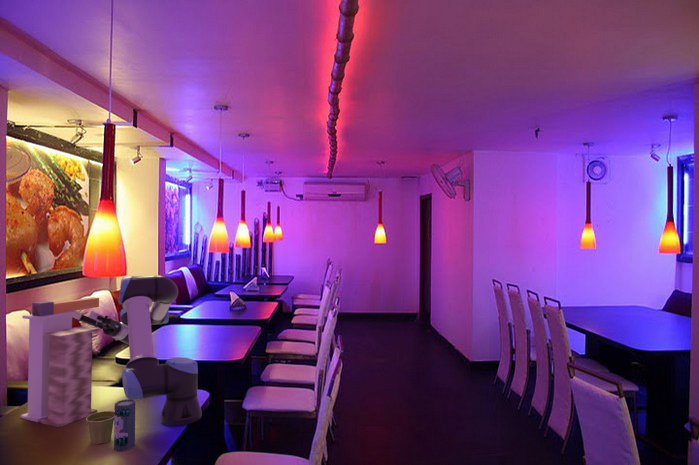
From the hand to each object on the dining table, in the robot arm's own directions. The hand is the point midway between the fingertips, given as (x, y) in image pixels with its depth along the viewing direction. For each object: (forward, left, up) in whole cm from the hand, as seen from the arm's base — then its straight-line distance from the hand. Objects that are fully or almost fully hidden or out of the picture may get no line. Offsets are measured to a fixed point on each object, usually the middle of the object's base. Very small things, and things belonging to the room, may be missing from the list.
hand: (79, 312), depth 194 cm
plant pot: (-36, +29, -39) cm, 60 cm away
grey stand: (+2, +12, -38) cm, 40 cm away
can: (-47, +31, -39) cm, 68 cm away
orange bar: (+1, +5, +2) cm, 5 cm away
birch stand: (-10, +14, -38) cm, 42 cm away
